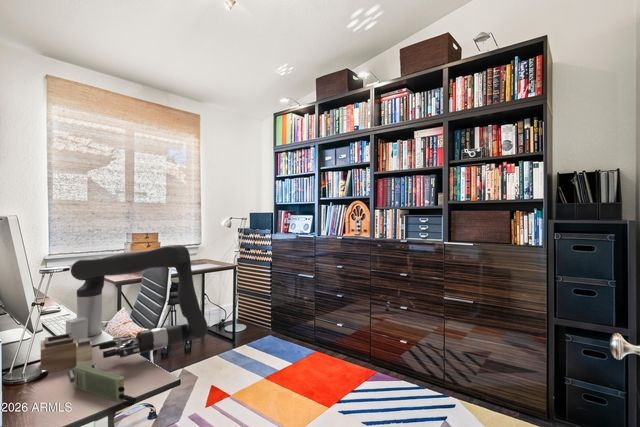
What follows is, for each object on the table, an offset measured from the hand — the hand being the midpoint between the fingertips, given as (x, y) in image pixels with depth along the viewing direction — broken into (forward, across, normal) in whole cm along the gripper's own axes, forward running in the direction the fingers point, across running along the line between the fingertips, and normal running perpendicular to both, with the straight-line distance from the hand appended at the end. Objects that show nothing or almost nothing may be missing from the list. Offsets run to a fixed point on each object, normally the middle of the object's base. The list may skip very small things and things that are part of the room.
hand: (101, 350), depth 118 cm
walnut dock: (+11, -14, +6) cm, 19 cm away
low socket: (+5, 0, +6) cm, 8 cm away
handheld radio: (+2, +19, +7) cm, 21 cm away
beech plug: (+5, 0, +6) cm, 8 cm away
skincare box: (+5, -25, +7) cm, 26 cm away
